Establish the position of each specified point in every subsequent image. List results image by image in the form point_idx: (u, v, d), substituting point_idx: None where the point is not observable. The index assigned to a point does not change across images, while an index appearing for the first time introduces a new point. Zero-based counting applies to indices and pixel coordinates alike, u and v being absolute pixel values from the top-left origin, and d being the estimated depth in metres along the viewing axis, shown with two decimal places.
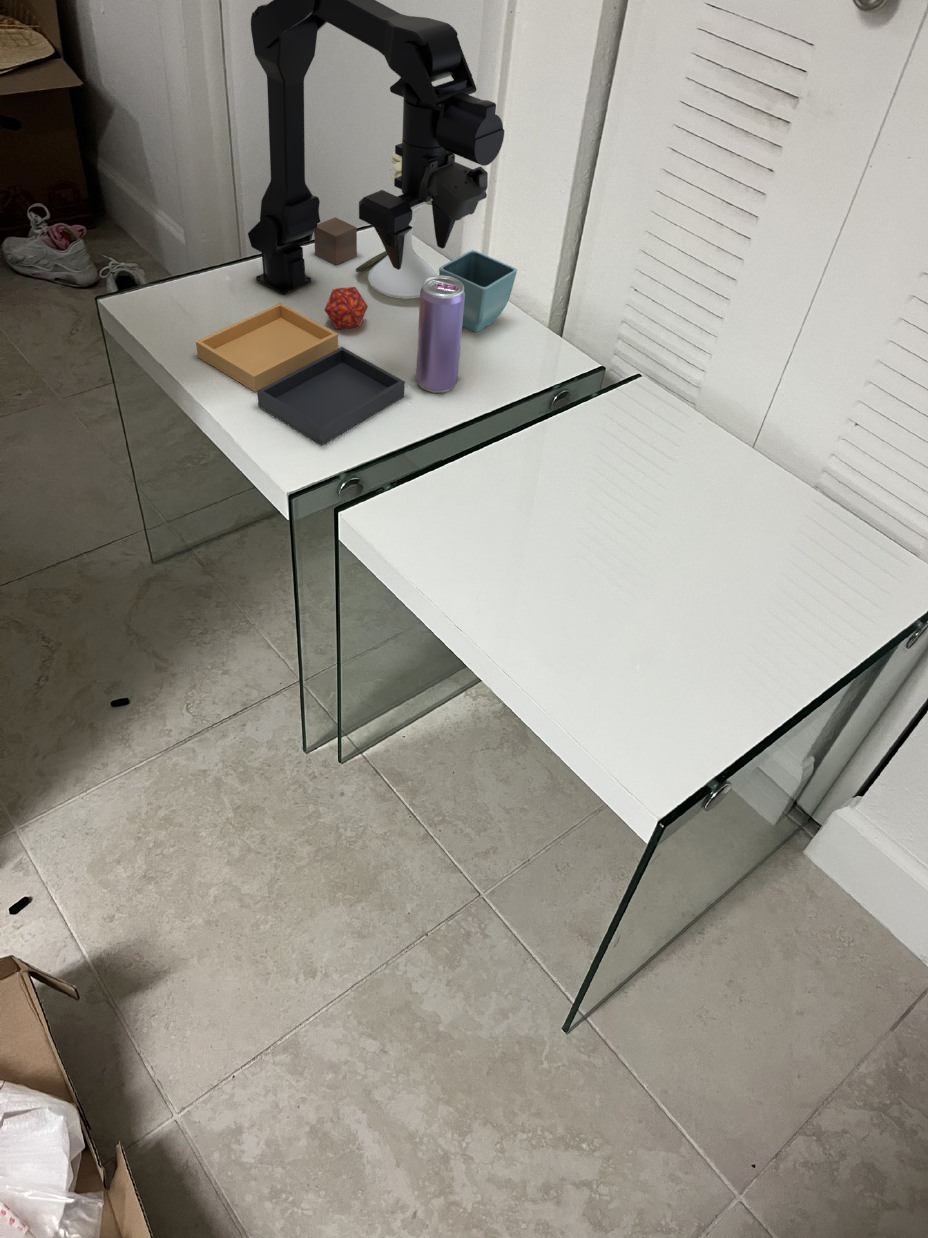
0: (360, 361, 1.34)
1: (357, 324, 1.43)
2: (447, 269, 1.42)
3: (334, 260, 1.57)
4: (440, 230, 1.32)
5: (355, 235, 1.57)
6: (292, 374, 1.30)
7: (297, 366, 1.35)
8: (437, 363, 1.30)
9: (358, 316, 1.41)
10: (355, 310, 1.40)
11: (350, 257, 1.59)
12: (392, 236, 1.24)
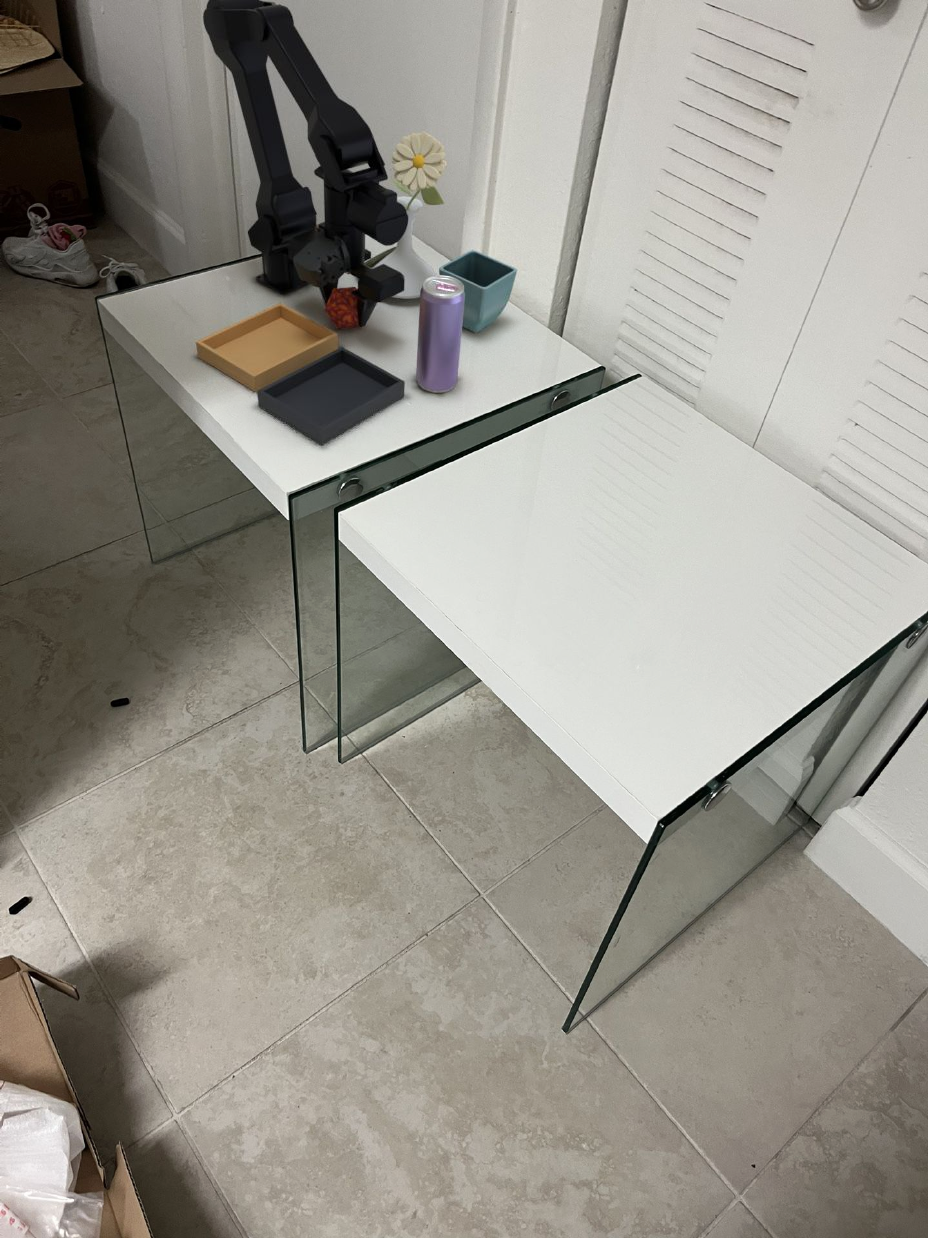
0: (360, 361, 1.34)
1: (357, 324, 1.43)
2: (447, 269, 1.42)
3: None
4: None
5: None
6: (292, 374, 1.30)
7: (297, 366, 1.35)
8: (437, 363, 1.30)
9: None
10: (355, 310, 1.40)
11: None
12: None
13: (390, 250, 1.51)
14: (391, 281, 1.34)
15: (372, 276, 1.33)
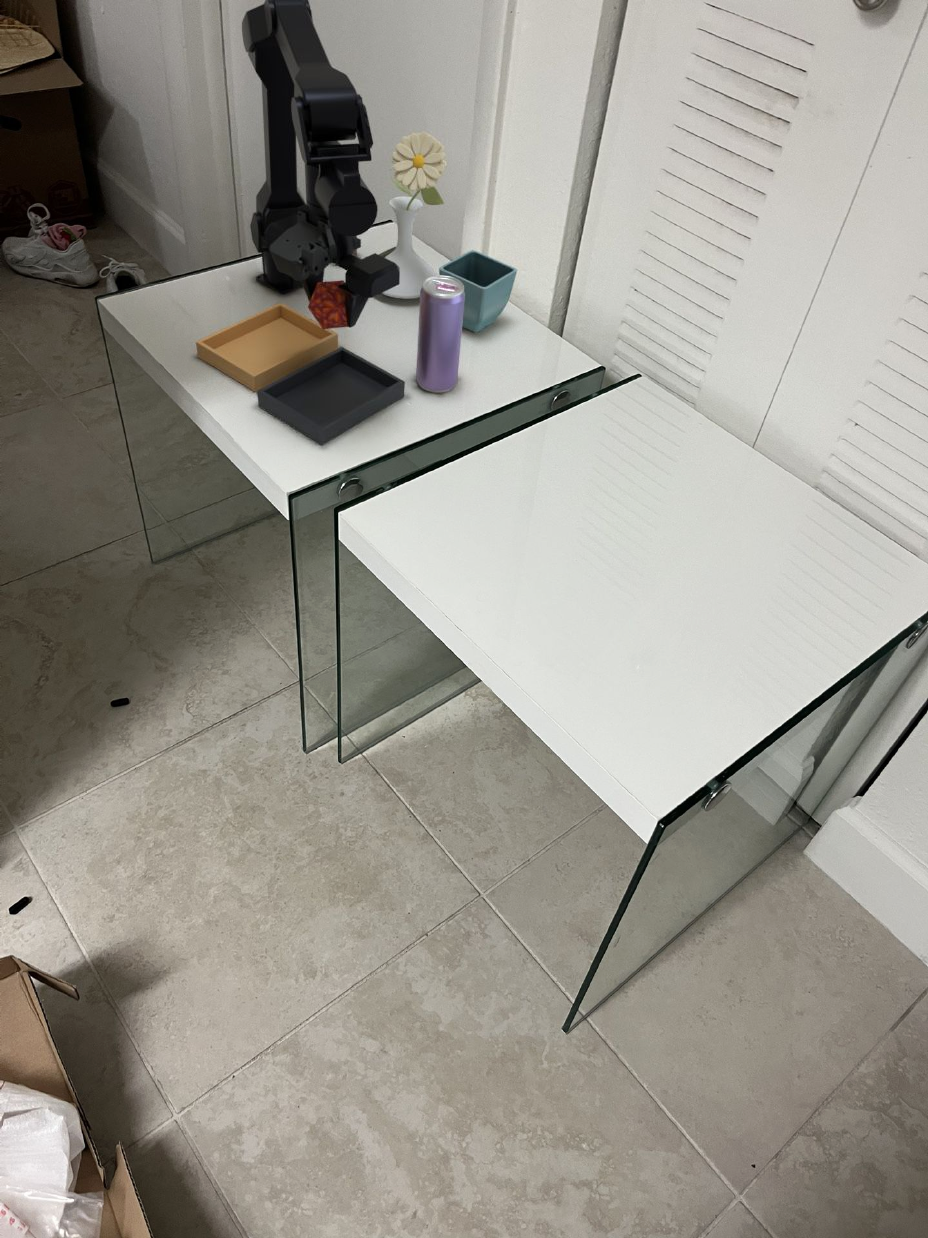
0: (360, 361, 1.34)
1: (346, 323, 1.24)
2: (447, 269, 1.42)
3: None
4: None
5: None
6: (292, 374, 1.30)
7: (297, 366, 1.35)
8: (437, 363, 1.30)
9: None
10: (343, 307, 1.21)
11: None
12: None
13: (390, 250, 1.51)
14: (384, 273, 1.15)
15: (362, 267, 1.14)
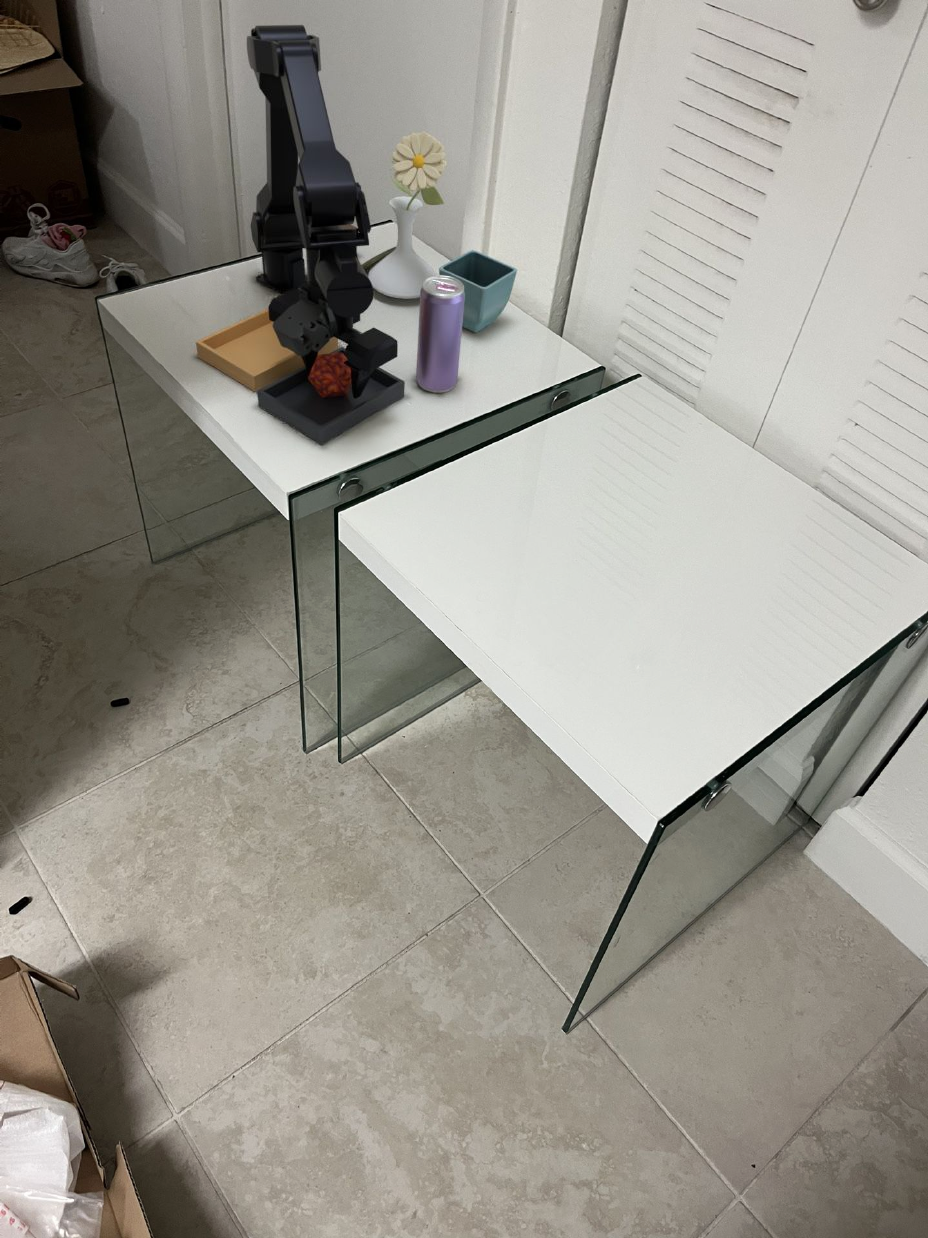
0: None
1: (344, 393, 1.30)
2: (447, 269, 1.42)
3: None
4: None
5: None
6: (292, 374, 1.30)
7: (297, 366, 1.35)
8: (437, 363, 1.30)
9: (345, 385, 1.28)
10: (342, 380, 1.27)
11: None
12: None
13: (390, 250, 1.51)
14: (382, 348, 1.20)
15: (361, 343, 1.19)
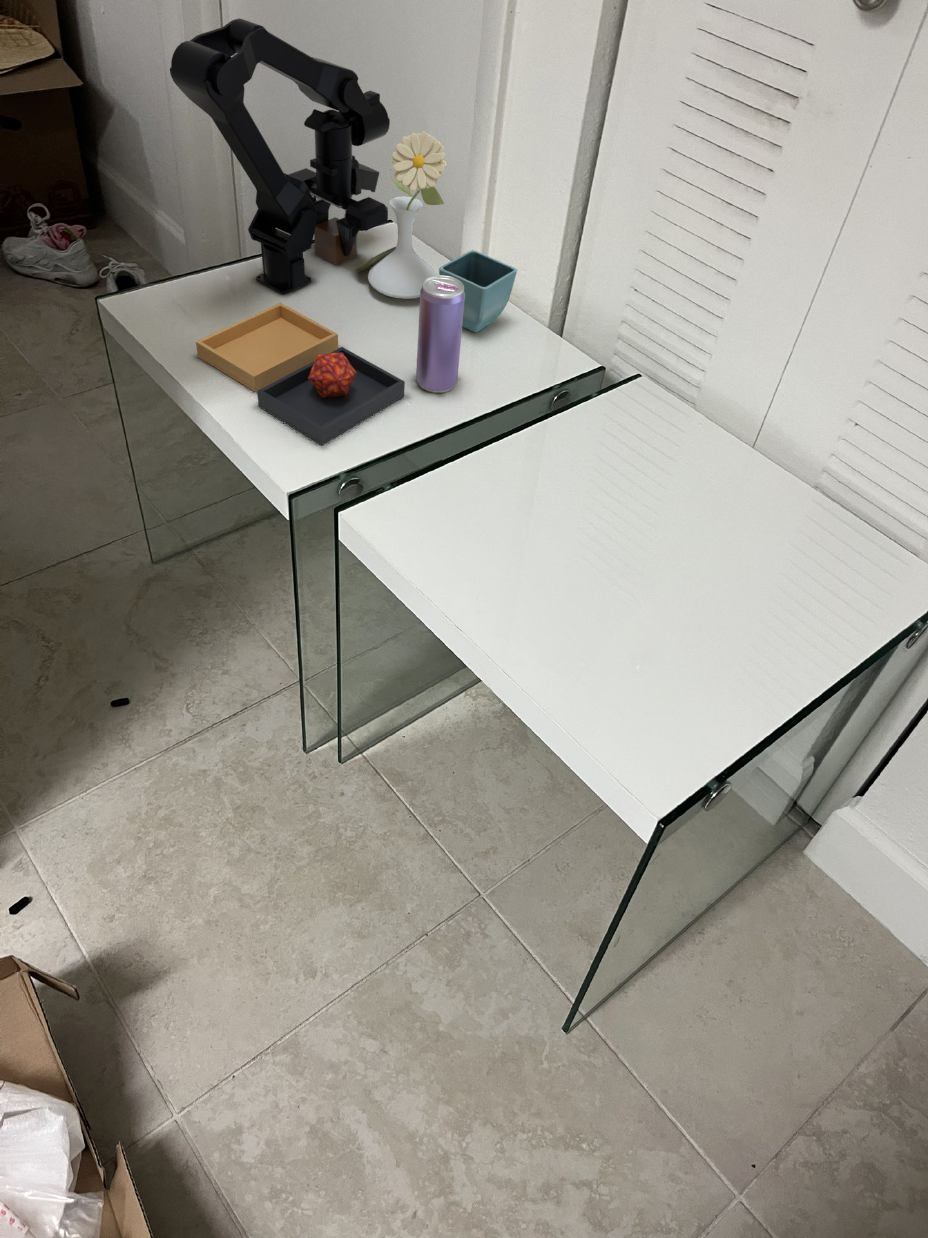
0: (360, 361, 1.34)
1: (344, 393, 1.30)
2: (447, 269, 1.42)
3: (334, 260, 1.57)
4: None
5: None
6: (292, 374, 1.30)
7: (297, 366, 1.35)
8: (437, 363, 1.30)
9: (345, 385, 1.28)
10: (342, 380, 1.27)
11: (350, 257, 1.59)
12: (352, 229, 1.54)
13: (390, 250, 1.51)
14: None
15: (311, 172, 1.55)
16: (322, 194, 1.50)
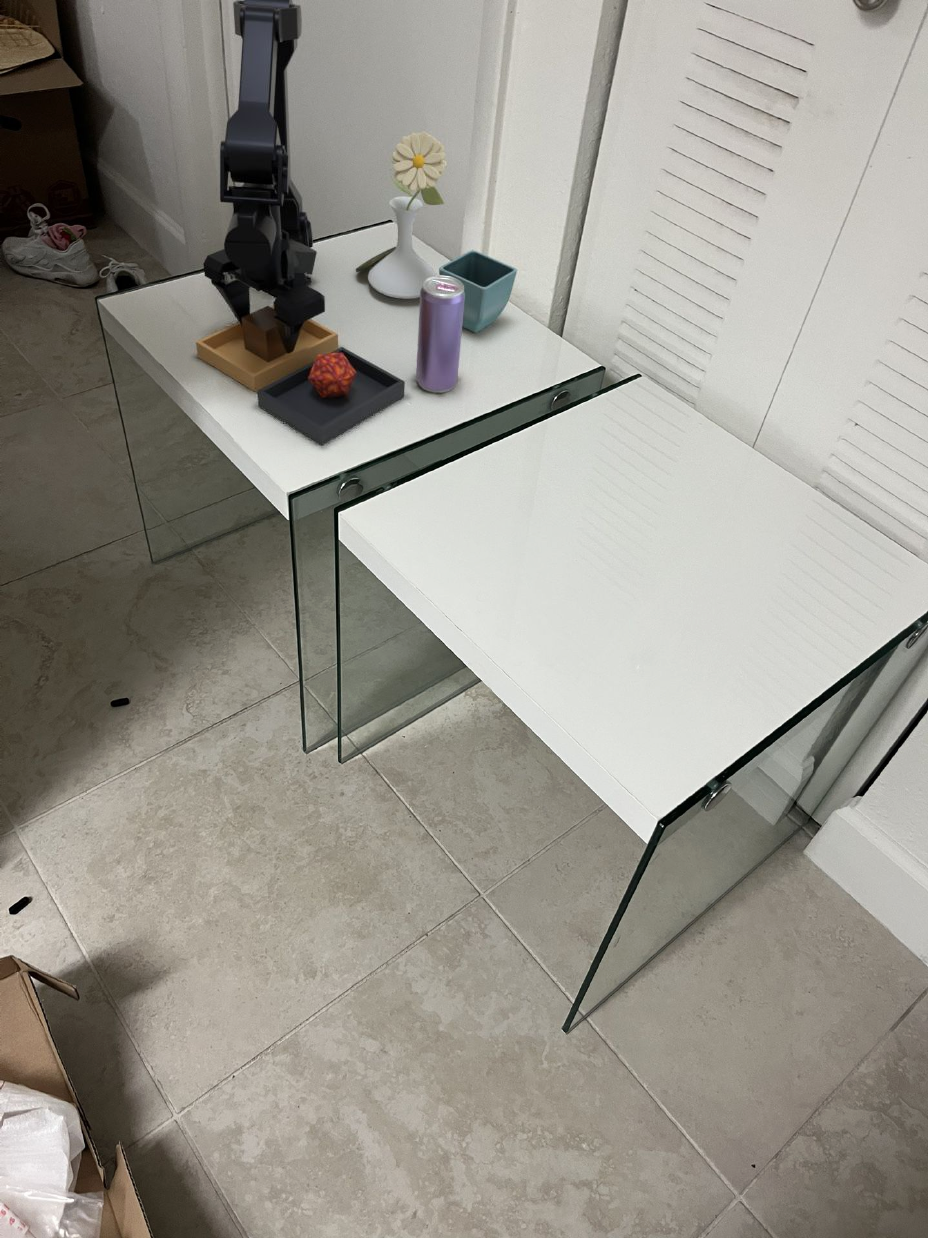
0: (360, 361, 1.34)
1: (344, 393, 1.30)
2: (447, 269, 1.42)
3: (266, 357, 1.35)
4: (244, 312, 1.36)
5: None
6: (292, 374, 1.30)
7: (297, 366, 1.35)
8: (437, 363, 1.30)
9: (345, 385, 1.28)
10: (342, 380, 1.27)
11: (285, 352, 1.37)
12: (294, 324, 1.31)
13: (390, 250, 1.51)
14: None
15: None
16: (247, 281, 1.27)
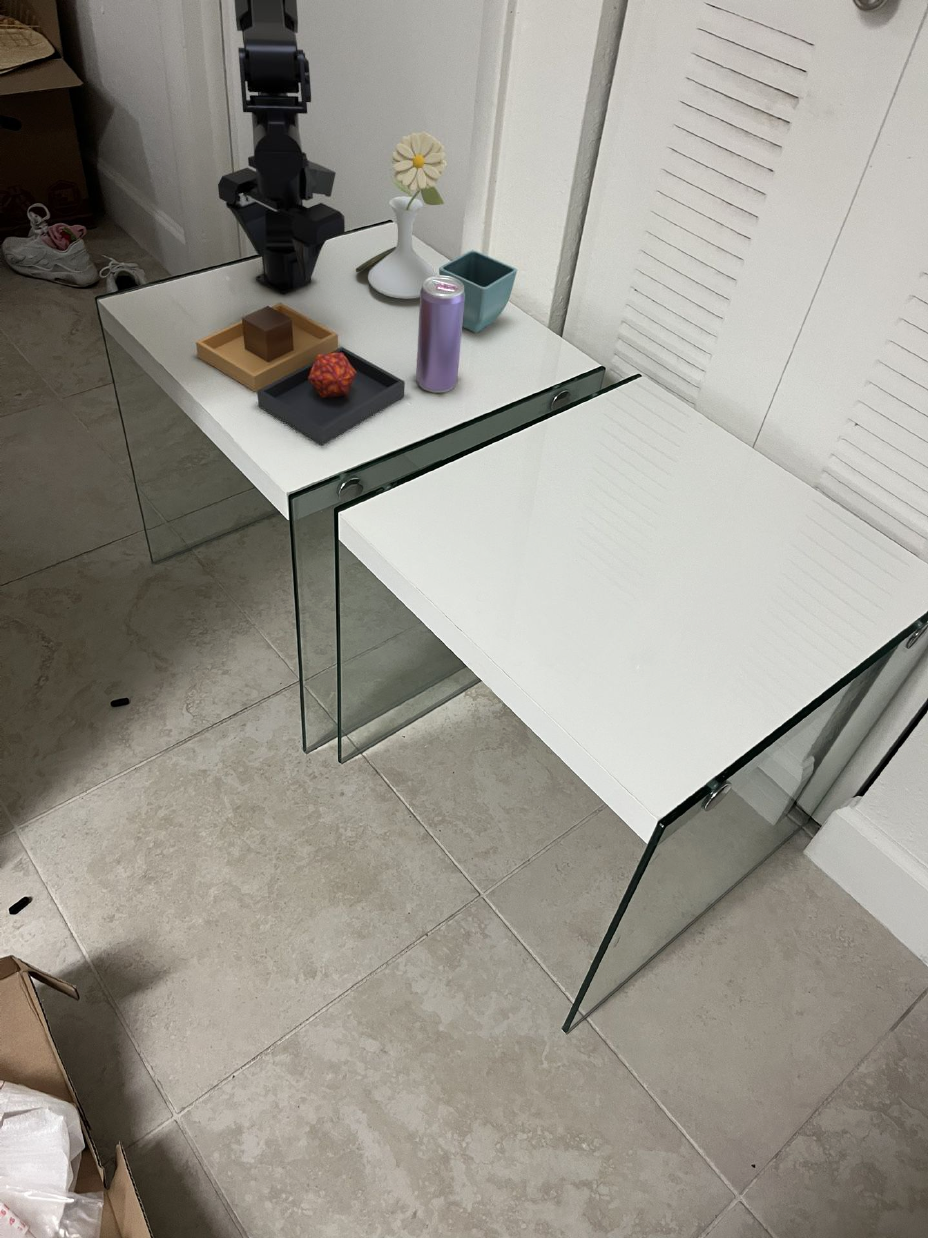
0: (360, 361, 1.34)
1: (344, 393, 1.30)
2: (447, 269, 1.42)
3: (266, 357, 1.35)
4: (259, 238, 1.31)
5: (290, 328, 1.35)
6: (292, 374, 1.30)
7: (297, 366, 1.35)
8: (437, 363, 1.30)
9: (345, 385, 1.28)
10: (342, 380, 1.27)
11: (285, 352, 1.37)
12: (312, 247, 1.26)
13: (390, 250, 1.51)
14: None
15: (253, 172, 1.28)
16: (264, 200, 1.23)
